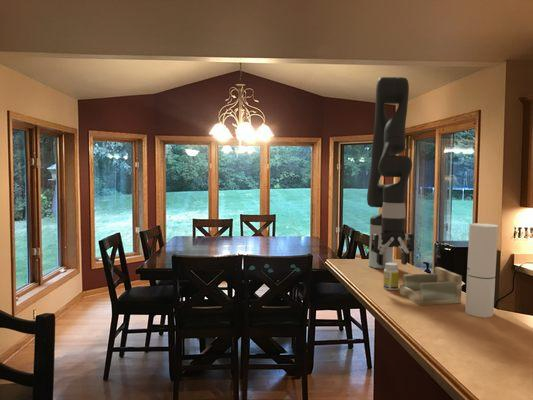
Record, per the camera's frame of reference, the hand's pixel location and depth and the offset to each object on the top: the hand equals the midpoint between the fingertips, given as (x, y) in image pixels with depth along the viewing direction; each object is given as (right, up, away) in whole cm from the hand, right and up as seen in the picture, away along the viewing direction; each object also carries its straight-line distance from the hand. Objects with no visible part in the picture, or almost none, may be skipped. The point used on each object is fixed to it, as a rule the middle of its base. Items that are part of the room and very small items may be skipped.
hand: (392, 264), depth 148 cm
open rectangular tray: (+8, -9, -9) cm, 15 cm away
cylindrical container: (+18, -11, -23) cm, 31 cm away
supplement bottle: (0, -8, +1) cm, 8 cm away
